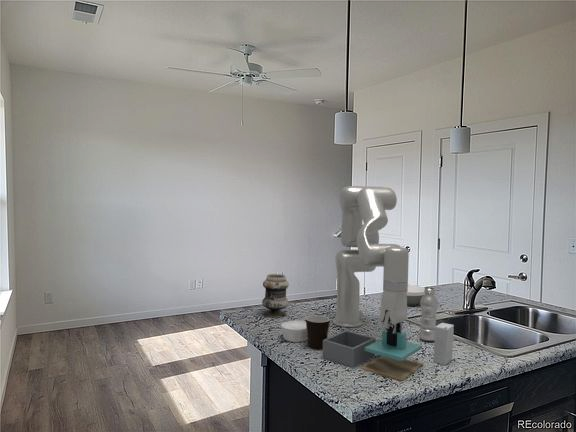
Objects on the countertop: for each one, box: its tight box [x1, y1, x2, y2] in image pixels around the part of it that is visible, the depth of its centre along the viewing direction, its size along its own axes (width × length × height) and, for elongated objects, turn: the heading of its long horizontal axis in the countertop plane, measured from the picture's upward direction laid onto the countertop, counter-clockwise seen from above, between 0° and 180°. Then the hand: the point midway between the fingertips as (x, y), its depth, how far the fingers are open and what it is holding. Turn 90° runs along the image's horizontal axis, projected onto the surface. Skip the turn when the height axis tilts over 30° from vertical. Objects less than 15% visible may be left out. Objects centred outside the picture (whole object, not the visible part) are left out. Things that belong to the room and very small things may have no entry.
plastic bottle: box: [418, 286, 439, 342], centre depth 157 cm, size 6×7×20 cm
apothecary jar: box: [261, 273, 290, 319], centre depth 188 cm, size 12×12×18 cm
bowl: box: [406, 284, 425, 307], centre depth 213 cm, size 19×19×8 cm
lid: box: [365, 328, 423, 361], centre depth 131 cm, size 14×12×6 cm
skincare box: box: [433, 322, 455, 366], centre depth 137 cm, size 6×4×12 cm
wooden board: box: [361, 356, 424, 382], centre depth 131 cm, size 16×13×1 cm
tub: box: [321, 330, 377, 368], centre depth 139 cm, size 14×12×6 cm
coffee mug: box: [305, 315, 331, 351], centre depth 150 cm, size 12×9×10 cm
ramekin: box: [280, 320, 308, 343], centre depth 157 cm, size 11×11×5 cm
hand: (393, 343), depth 131 cm, fingers closed on lid
